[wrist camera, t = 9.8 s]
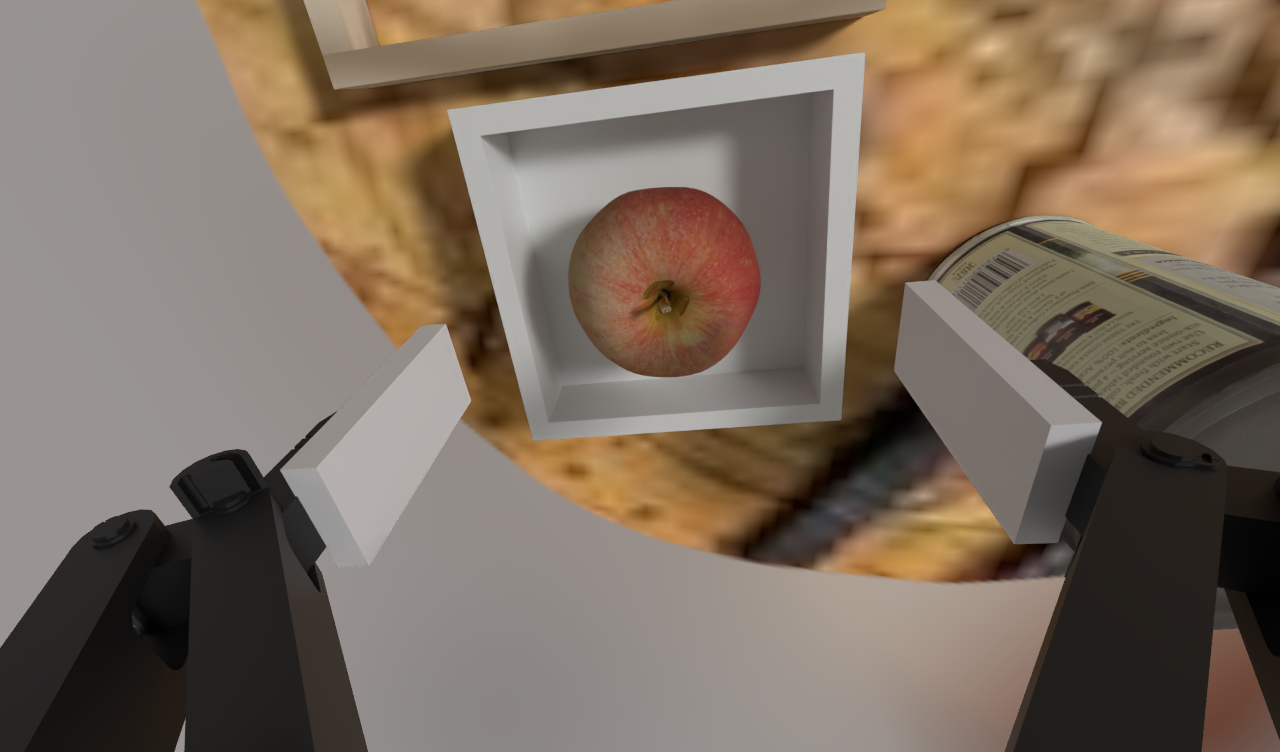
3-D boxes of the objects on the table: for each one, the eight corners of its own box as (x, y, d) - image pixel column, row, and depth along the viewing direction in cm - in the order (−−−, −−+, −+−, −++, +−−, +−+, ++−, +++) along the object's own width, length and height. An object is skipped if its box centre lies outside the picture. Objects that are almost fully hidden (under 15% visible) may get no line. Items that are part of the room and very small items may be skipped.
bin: (485, 105, 24) (447, 110, 20) (831, 58, 22) (865, 52, 18) (551, 395, 31) (533, 440, 27) (818, 375, 29) (841, 420, 25)
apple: (618, 139, 24) (594, 162, 16) (779, 213, 25) (820, 264, 18) (560, 298, 27) (520, 372, 20) (702, 356, 28) (711, 445, 21)
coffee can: (1055, 418, 30) (1326, 655, 17) (875, 385, 29) (1020, 602, 17) (1177, 235, 25) (1674, 384, 12) (962, 192, 24) (1255, 302, 12)
